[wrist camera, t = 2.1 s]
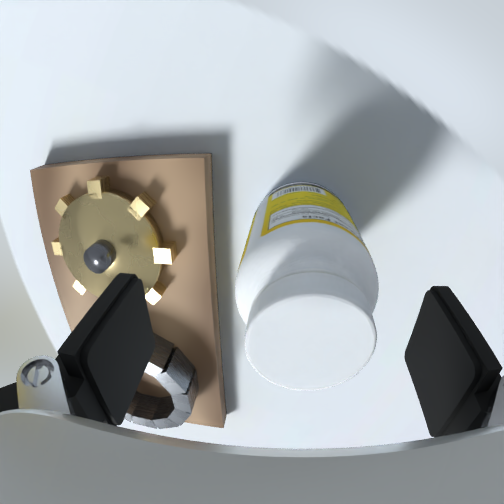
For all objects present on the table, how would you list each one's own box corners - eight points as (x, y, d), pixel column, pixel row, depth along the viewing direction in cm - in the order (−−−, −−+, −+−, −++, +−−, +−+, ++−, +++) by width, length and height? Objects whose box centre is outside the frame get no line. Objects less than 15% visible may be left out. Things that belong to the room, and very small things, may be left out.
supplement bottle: (302, 286, 19) (304, 421, 11) (234, 228, 18) (182, 345, 9) (369, 226, 17) (429, 342, 8) (300, 158, 16) (311, 225, 7)
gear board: (211, 153, 16) (204, 157, 15) (226, 415, 26) (223, 428, 25) (44, 164, 18) (30, 170, 16) (108, 392, 27) (102, 403, 26)
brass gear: (170, 173, 16) (154, 183, 14) (184, 310, 19) (173, 331, 17) (50, 180, 17) (28, 189, 15) (75, 296, 20) (60, 312, 18)
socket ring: (191, 333, 20) (180, 359, 18) (203, 412, 24) (197, 436, 22) (79, 316, 21) (63, 336, 19) (110, 393, 25) (99, 413, 23)
